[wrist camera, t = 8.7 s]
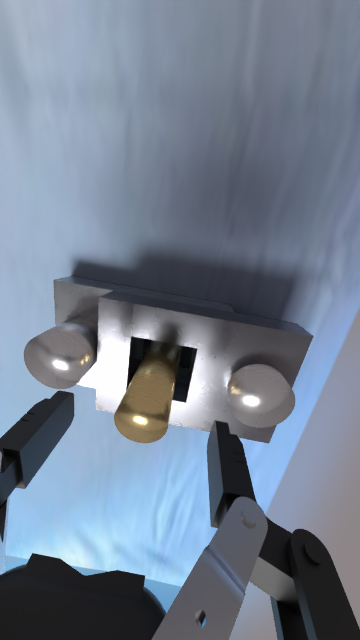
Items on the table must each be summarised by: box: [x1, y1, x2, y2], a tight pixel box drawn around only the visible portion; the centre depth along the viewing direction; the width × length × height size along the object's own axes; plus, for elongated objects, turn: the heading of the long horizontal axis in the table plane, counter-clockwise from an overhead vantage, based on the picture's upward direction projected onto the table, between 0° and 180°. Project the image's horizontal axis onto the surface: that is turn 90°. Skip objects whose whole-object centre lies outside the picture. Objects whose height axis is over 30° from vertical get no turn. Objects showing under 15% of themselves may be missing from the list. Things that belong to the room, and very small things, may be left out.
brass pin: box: [114, 340, 182, 443], centre depth 16 cm, size 3×3×10 cm
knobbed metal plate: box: [24, 276, 313, 443], centre depth 18 cm, size 20×10×6 cm, turn 81°
